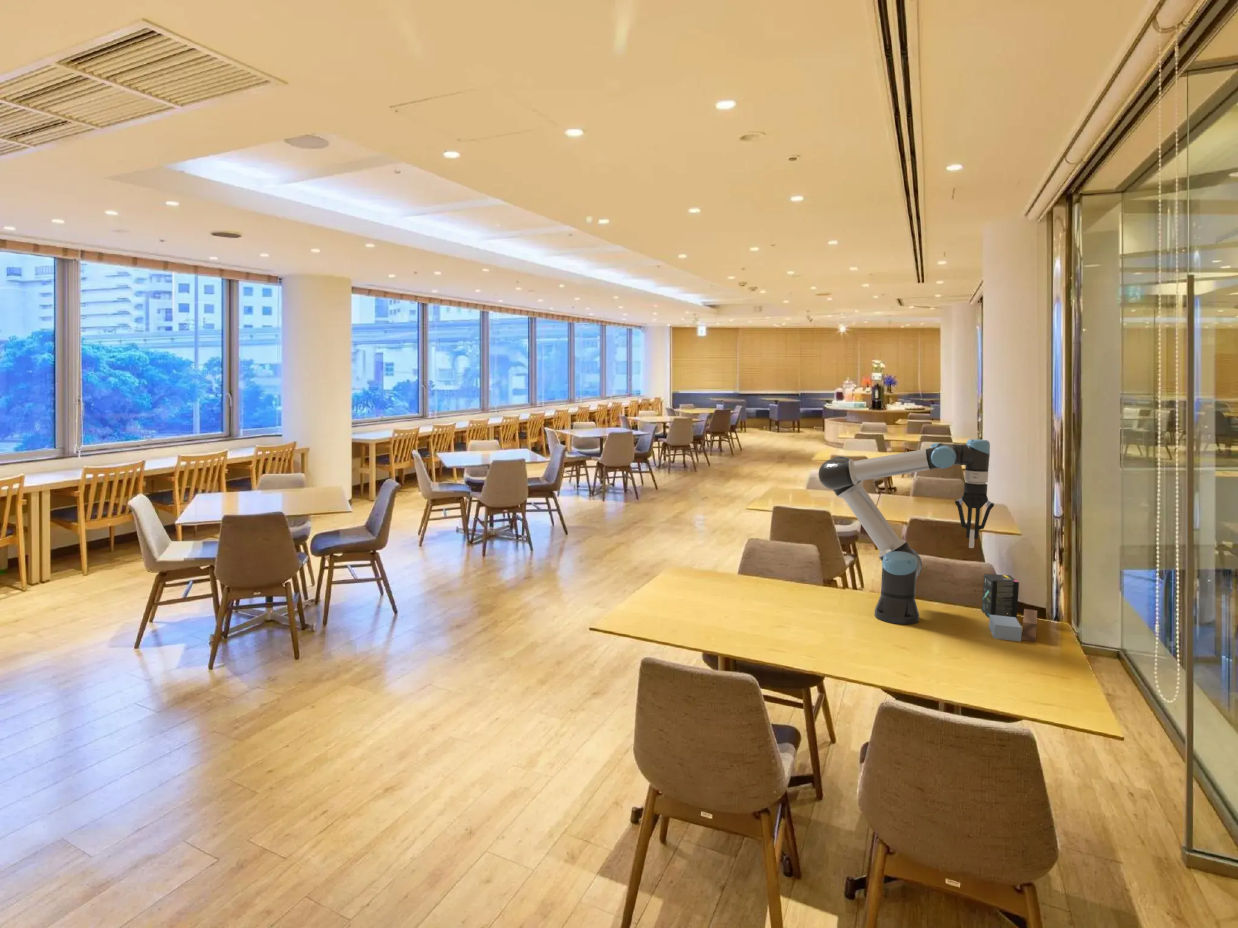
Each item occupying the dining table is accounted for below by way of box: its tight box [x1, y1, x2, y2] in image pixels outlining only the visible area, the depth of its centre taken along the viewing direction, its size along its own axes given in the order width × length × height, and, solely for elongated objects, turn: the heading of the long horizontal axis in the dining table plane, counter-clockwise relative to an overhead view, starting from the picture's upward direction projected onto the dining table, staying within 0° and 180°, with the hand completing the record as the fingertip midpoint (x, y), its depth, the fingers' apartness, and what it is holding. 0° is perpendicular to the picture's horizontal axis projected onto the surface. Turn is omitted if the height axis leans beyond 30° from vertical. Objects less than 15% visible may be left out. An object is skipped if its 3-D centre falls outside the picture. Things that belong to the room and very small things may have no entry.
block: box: [988, 615, 1023, 642], centre depth 249 cm, size 8×12×5 cm, turn 161°
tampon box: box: [981, 573, 1020, 620], centre depth 269 cm, size 11×9×15 cm
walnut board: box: [1021, 608, 1038, 643], centre depth 251 cm, size 4×18×6 cm, turn 150°
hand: (971, 547), depth 264 cm, fingers closed
